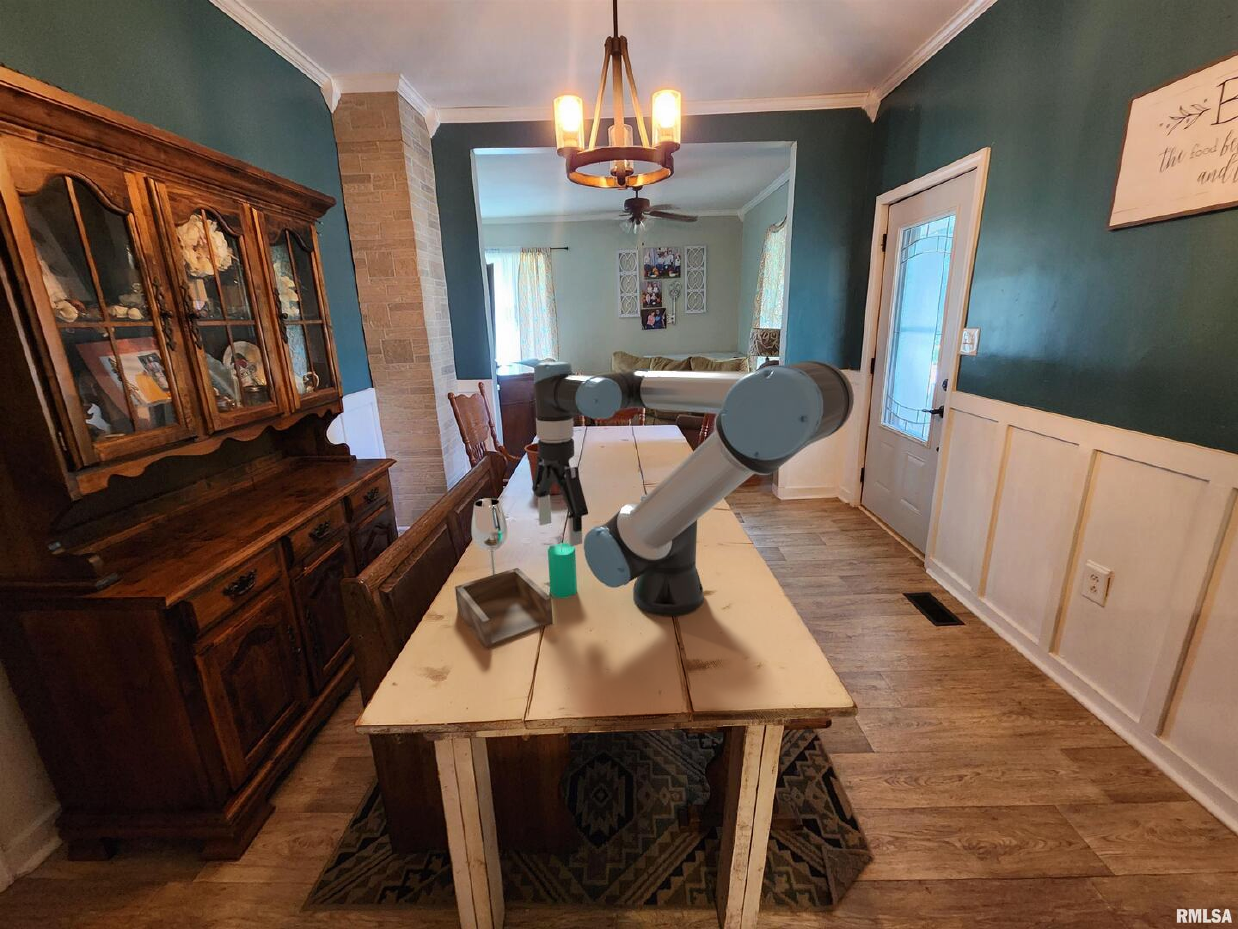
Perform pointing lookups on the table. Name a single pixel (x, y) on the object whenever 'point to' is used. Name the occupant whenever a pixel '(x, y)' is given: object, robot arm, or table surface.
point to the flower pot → (532, 457)
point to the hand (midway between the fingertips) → (559, 533)
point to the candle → (562, 570)
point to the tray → (503, 607)
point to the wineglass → (489, 526)
